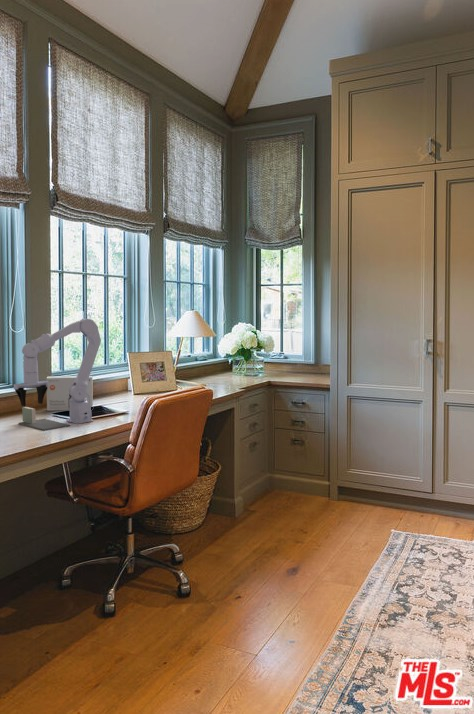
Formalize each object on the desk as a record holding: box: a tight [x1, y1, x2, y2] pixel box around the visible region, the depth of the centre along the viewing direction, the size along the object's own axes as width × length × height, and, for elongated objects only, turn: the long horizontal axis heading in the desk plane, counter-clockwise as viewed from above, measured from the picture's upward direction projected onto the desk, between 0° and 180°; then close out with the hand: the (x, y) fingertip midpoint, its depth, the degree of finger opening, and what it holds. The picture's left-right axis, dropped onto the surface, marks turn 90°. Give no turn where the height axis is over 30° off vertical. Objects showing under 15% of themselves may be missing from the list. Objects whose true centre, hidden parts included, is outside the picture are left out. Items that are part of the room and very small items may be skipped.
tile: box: [21, 406, 37, 424], centre depth 252 cm, size 7×2×6 cm, turn 48°
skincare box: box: [45, 375, 94, 412], centre depth 287 cm, size 21×5×16 cm, turn 101°
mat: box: [17, 418, 71, 432], centre depth 249 cm, size 20×12×1 cm, turn 48°
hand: (32, 404), depth 250 cm, fingers open, 7 cm apart
